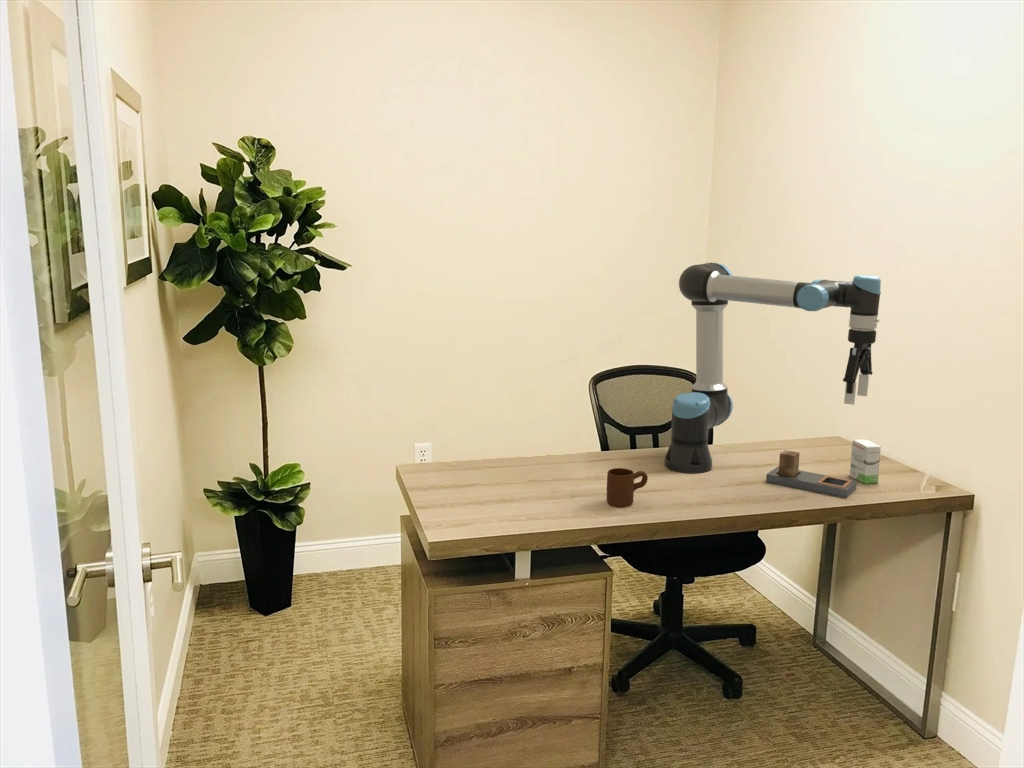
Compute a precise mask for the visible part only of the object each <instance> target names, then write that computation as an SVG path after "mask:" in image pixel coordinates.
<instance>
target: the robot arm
mask: <svg viewBox="0 0 1024 768" xmlns="http://www.w3.org/2000/svg"><path fill="white" fill-rule="evenodd" d="M881 282H882V281H881V278H880V277H879V276H877V275H868V274H867V275H864V274H863V275H860V274H858V275H854V276H853V280H852V281H844V280H843V281H841V280H829V279H814V280H812V282H801V281H793V280H792V281H791V280H782V279H781V280H780V279H771V278H760V277H748V276H739V275H733V273H732V272H731V271H730V269H729V268H728V267H727V266H726V265H724V264H722V263H718V262H705V263H700V264H693V265H690V266H688V267H687V268H685V269H684V270H683V271H682V273H681V274H680V277H679V279H678V287H679V291H680V293H681V295H683V297H684V298H685V299H687V300H689V301H691V307H692V308H693V309H695V312H696V313H695V319H696V321H695V322H696V323H695V333H696V334H695V340H696V341H695V345H696V348H695V352H696V353H695V355H696V356H695V357H696V358H695V359H696V360H695V361H696V362H695V363H696V364H695V369H696V373H695V374H696V375H695V382H694V383H693V385H692V386H691V392H687V393H686V392H683V393H680V394H677V395H676V396H675V397H674V398H673V400H672V406H671V432H670V433H671V436H670V444H669V446H668V450H667V451H666V455H665V457H664V467H665V468H667V469H668V470H671V471H675V472H677V473H678V472H679V473H687V474H700V473H706V472H709V471H711V470H712V469H713V459H712V455H711V453H710V447H709V444H708V442H709V429H713V428H714V427H717V426H720V425H722V424H723V423H725V422H726V421H727V420H728V419H729V418H730V417H731V415H732V412H733V407H734V406H733V405H734V404H733V400H732V397H731V396H730V395H729V394H728V385H726V384H725V382H724V381H723V380H724V374H723V373H724V310H725V309H726V307H727V306H728V305H729V301H730V302H740V303H747V304H749V303H750V304H756V305H757V304H760V305H766V306H767V305H769V306H777V307H778V306H779V307H787V308H796V309H802V310H804V311H806V312H818V311H821V310H823V309H827V308H830V307H838V308H839V307H840V308H850V313H849V321H848V327H849V329H848V335H847V341H848V342H849V343H853V345H854V346H853V347H850V349H849V356H848V360H847V363H846V368H845V369H846V370H845V373H844V378H842V382H844V383H845V390H844V398H843V399H844V402H843V404H844V405H845V404H846V405H850V406H851V405H852V406H854V405H855V401H856V395H857V396H858V397H859V396H860V397H868V391H869V381H870V380H869V379H870V375H871V376H872V375H873V371H872V370H873V368H872V367H873V366H872V344H874V343H876V338H877V330H876V329H877V328H878V327H877V326H878V323H879V322H880V319H879V318H878V317H879V308H880V307H879V306H880V299H881V294H882V292H881V284H882V283H881ZM859 372H860V373H859ZM857 378H858V385H857ZM856 391H857V394H856Z"/></svg>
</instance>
